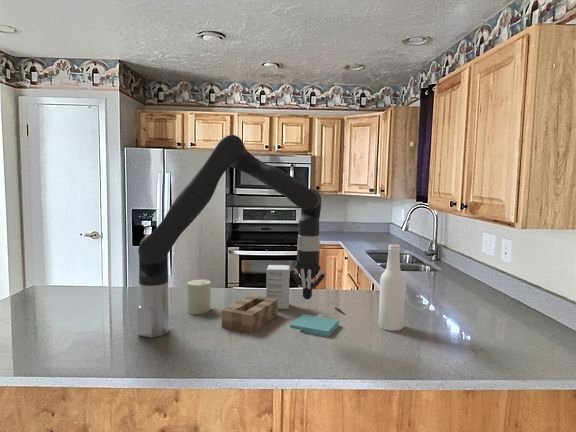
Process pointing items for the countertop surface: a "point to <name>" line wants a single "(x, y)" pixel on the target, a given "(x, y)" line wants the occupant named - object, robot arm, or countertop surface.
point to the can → (199, 296)
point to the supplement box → (278, 284)
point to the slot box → (249, 313)
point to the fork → (335, 307)
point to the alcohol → (392, 293)
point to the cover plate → (315, 325)
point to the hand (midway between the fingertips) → (307, 298)
